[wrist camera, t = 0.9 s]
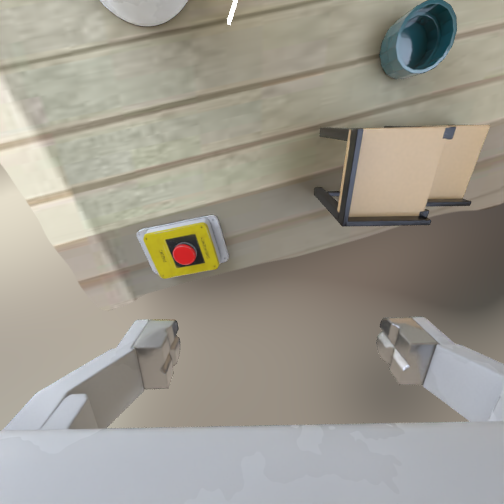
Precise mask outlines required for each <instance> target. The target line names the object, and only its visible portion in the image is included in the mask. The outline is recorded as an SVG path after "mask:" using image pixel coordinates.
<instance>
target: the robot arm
mask: <svg viewBox="0 0 504 504" xmlns="http://www.w3.org/2000/svg"><path fill="white" fill-rule="evenodd" d="M100 1H101V3H102V4H103V5H104V6H105V7H106V8H108V9H109V10H110V11H111V12H112V13H113V14H115V15H116V16H118V17H119V18H121V19H123V20H125V21H127V22H129V23H132V24H135V25H139V26H155V25H159V24H162V23H165V22H167V21H169V20H170V19H172V18H173V17H174V16H176V15H177V14H178V13H179V12H180V11H181V10H182V8H183V7H184V6H185V4H186V3H187V1H188V0H100ZM237 2H238V0H234V1H233V4H232V7H231V10H230V14H229V17H228V20H227V23H228V24H229V25H230V24H231V21H232V17H233V14H234V11H235V8H236V5H237ZM380 328H381V329H382V332H381V333H380V334H379V335H378V337H377V342H376V343H377V350H378V353H379V355H380V357H381V358H382V360H383V361H384V362H386V363H388V364H389V365H390V368H389V370H390V372H391V373H392V374H393V376H394V378H395V379H396V381H397V382H398V383H399V385H423V387H425V388H426V389H427V390H429V391H430V392H431V393H433V394H434V395H435V396H437V397H438V398H439V399H441V400H442V401H443V402H445V403H446V404H447V405H449V406H450V407H451V408H453V409H454V410H455V411H457V412H458V413H459V414H461V415H462V416H463V417H465V418H466V419H467V420H469V421H470V422H433V423H431V422H430V423H373V424H319V425H318V424H317V425H265V426H214V427H213V426H212V427H159V428H108V429H107V427H108V426H109V425H110V424H111V423H112V422H113V421H114V420H115V419H116V418H117V417H118V416H119V415H120V414H121V413H122V412H123V411H124V410H125V409H126V408H127V407H128V406H129V405H130V404H131V403H132V402H133V401H134V400H135V399H136V398H137V397H138V396H139V395H140V394H142V393H143V391H144V389H165V388H169V385H170V382H171V379H172V376H173V374H174V371H173V366H174V365H175V364H177V362H178V359H179V354H180V339H179V337H178V336H177V335H176V334H177V331H178V323H177V321H176V320H136V321H135V322H134V323H133V324H132V326H131V327H130V329H129V330H128V332H127V333H126V334H125V336H124V337H123V339H122V340H121V342H120V343H119V344H118V346H117V347H116V349H110V350H109V351H107V352H105V353H104V354H102V355H100V356H98V357H97V358H95V359H93V360H92V361H90V362H88V363H86V364H85V365H83V366H81V367H80V368H78V369H76V370H75V371H73V372H71V373H70V374H68V375H66V376H64V377H63V378H61V379H59V380H58V381H56V382H54V383H53V384H51V385H50V386H47V387H46V388H44V389H42V390H41V391H39V392H37V393H36V394H35V395H34V396H33V397H32V398H31V399H30V401H29V402H28V403H27V404H26V405H25V406H24V407H23V408H22V409H21V410H20V412H19V413H18V414H17V415H16V416H15V417H14V418H13V419H12V420H11V421H10V423H9V424H8V425H7V426H6V427H5V428H4V429H3V430H0V504H504V364H502V363H500V362H498V361H496V360H494V359H491V358H489V357H487V356H485V355H482V354H480V353H478V352H476V351H474V350H471V349H469V348H467V347H464V346H462V345H460V344H455V343H453V342H452V341H451V340H450V339H449V338H448V337H447V336H445V335H444V334H443V333H442V332H441V331H440V330H439V329H438V328H436V327H435V326H434V325H433V324H432V323H431V322H430V321H428V320H427V319H426V318H424V317H406V318H383V319H382V321H381V324H380Z"/></svg>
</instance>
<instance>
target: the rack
mask: <svg viewBox="0 0 504 504" xmlns="http://www.w3.org/2000/svg"><path fill="white" fill-rule="evenodd" d="M489 128H490V125H448V126H385V127H384V128H320V137H326V138H332V139H338V140H344V141H347V148H346V155H345V161H344V168H343V175H342V182H341V189H340V191H325V190H324V189H323V188H322V187H316V188H314V195H315V196H316V197H317V199H318V200H319V201H320V202H321V203H322V204H323V205H324V206H325V207H326V209H327V210H328V211H329V212H330V213H331V214H332V215H333V216H334V218H335V219H336V220H337V221H338V222H339V223H340V224H341V226H395V225H430V223H431V220H430V219H428V218H427V216H428V213H429V210H427V209H425V206H470V204H471V201H468V200H465V199H463V196H464V194H465V191H466V188H467V186H468V183H469V181H470V178H471V175H472V173H473V170H474V167H475V165H476V162H477V159H478V157H479V154H480V152H481V149H482V146H483V144H484V141H485V138H486V136H487V133H488V130H489ZM332 196H339V203H338V202H337V201H336V200H335V199H334V198H333V197H332Z"/></svg>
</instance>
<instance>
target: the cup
mask: <svg viewBox="0 0 504 504" xmlns="http://www.w3.org/2000/svg"><path fill="white" fill-rule="evenodd" d="M456 32H457V21H456V15H455V12H454V10H453V8H452V6H451V5H450V4H448V3H447V2H445V1H443V0H427V1H425V2H423V3H421V4H419V5H417V6H416V7H415V8H413V9H412V10H410V11H409V12H408V13H406V14H405V15H404V16H402V17H401V18H400V19H398V20H397V21H396V22H395V23H394V24H393V25H392V26H391V27H390V28H389V29H388V31H387V33H386V35H385V37H384V39H383V41H382V45H381V50H380V60H381V66H382V68H383V69H384V71H385V73H386V74H387V75H388V76H390V77H392V78H394V79H406V78H409V77H412V76H416V75H419V74H422V73H425V72H427V71H429V70H431V69H433V68H435V67H436V66H437V65H438V64H439V63H440V62H441V61H442V60H443V59H444V58H445V57H446V55H447V54H448V52H449V50H450V49H451V47H452V45H453V42H454V39H455V35H456Z"/></svg>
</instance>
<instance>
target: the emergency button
mask: <svg viewBox="0 0 504 504" xmlns="http://www.w3.org/2000/svg"><path fill="white" fill-rule="evenodd" d="M137 238H138V240H139V242H140V244H141V246H142V249H143V251H144V253H145V255H146V257H147V259H148V261H149V264H150V266H151V268H152V270H153V272H154V273H156V274H159V276H160V277H161V278H171V277H176V276H182V275H187V274H193V273H198V272H204V271H209V270H215V269H217V268H218V266H219V264H220V263H222V262H226V261H227V260H228V258H229V254H228V251H227V248H226V244H225V241H224V237H223V234H222V230H221V227H220V223H219V220H218V218H217V216H215V215H208V216H203V217H198V218H193V219H189V220H184V221H179V222H174V223H169V224H164V225H159V226H155V227H150V228H145V229H141V230H139V231H138V232H137Z"/></svg>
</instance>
